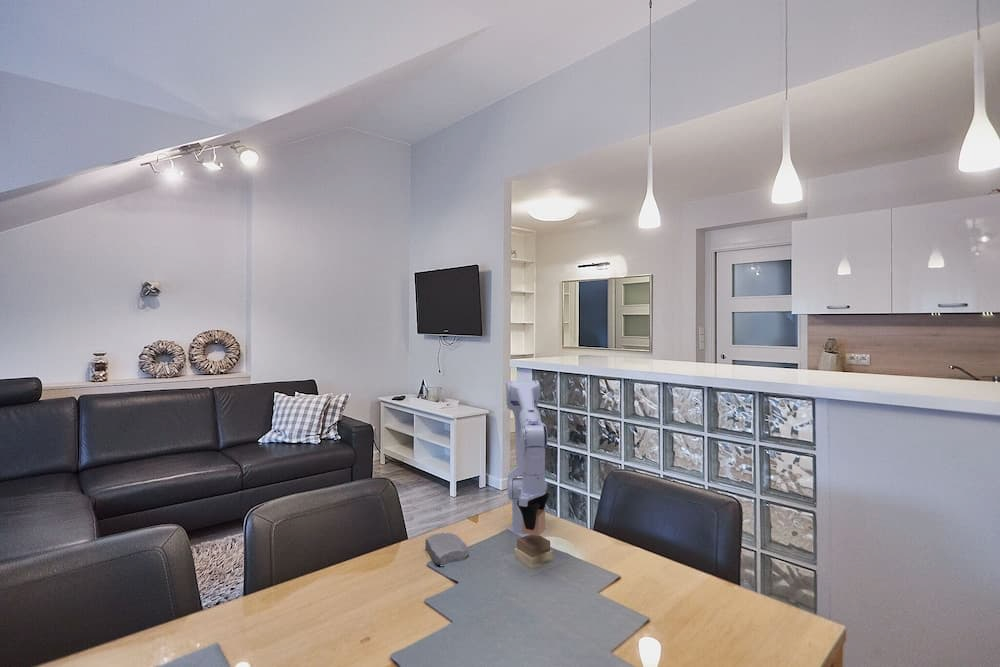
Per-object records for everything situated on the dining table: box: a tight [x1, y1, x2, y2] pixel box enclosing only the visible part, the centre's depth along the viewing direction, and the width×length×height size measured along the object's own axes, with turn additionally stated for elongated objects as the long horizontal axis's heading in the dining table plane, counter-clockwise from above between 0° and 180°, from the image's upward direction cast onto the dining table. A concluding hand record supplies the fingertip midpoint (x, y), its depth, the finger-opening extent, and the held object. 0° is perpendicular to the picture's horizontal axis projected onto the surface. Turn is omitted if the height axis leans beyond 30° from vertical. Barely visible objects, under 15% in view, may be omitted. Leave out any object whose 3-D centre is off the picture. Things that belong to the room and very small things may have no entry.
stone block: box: [424, 532, 469, 566], centre depth 130 cm, size 12×5×10 cm
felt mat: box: [500, 552, 567, 577], centre depth 126 cm, size 12×12×1 cm
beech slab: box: [513, 547, 554, 569], centre depth 126 cm, size 7×7×2 cm
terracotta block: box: [522, 509, 546, 536], centre depth 126 cm, size 4×4×5 cm
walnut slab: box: [516, 534, 551, 557], centre depth 126 cm, size 6×6×2 cm
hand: (533, 525), depth 126 cm, fingers closed on terracotta block, 4 cm apart
